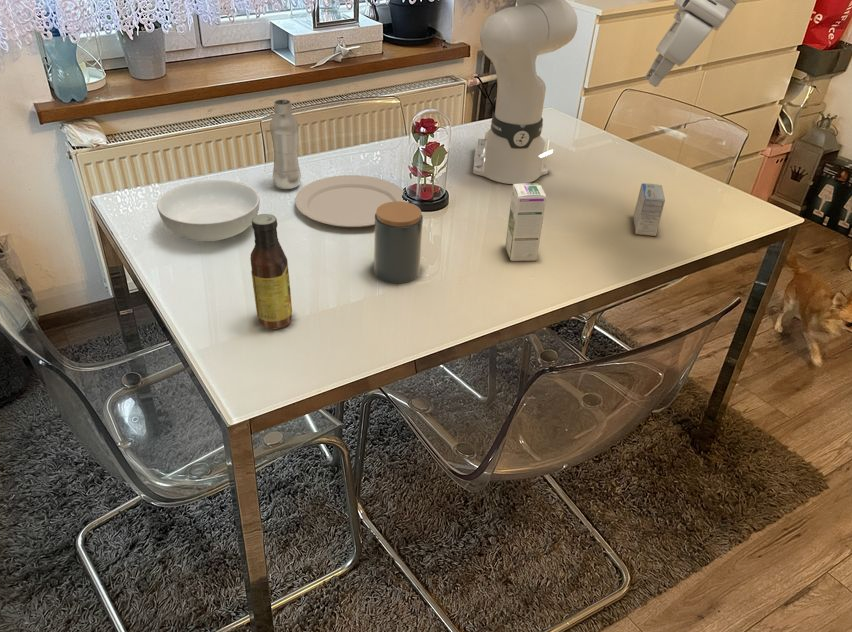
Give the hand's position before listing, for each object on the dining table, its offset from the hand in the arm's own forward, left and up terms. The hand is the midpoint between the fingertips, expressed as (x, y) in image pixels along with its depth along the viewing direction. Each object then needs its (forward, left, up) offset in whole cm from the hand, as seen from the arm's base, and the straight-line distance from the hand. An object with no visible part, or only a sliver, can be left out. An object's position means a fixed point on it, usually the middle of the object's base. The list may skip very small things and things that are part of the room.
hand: (650, 82), depth 132 cm
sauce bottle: (+23, -68, -35) cm, 80 cm away
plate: (-21, -53, -35) cm, 67 cm away
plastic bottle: (-32, -68, -35) cm, 83 cm away
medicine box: (-10, +11, -35) cm, 38 cm away
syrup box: (+1, -19, -35) cm, 40 cm away
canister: (+7, -45, -35) cm, 57 cm away
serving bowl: (-11, -83, -35) cm, 91 cm away
